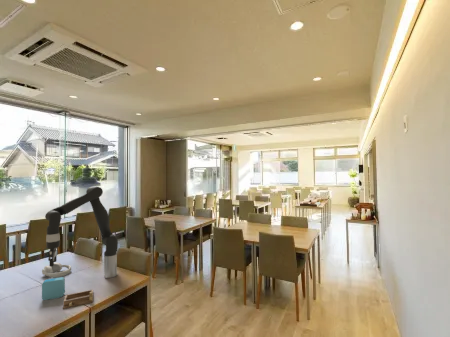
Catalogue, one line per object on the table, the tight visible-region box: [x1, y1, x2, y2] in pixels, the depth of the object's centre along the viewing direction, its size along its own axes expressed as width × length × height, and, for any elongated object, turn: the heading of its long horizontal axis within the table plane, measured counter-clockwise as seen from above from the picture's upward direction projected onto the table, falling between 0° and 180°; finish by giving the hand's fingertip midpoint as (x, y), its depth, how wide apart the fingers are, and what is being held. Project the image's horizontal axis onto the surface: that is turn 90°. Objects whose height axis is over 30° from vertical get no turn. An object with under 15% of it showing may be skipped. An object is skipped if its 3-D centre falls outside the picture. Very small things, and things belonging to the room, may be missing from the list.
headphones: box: [41, 261, 72, 279], centre depth 198 cm, size 18×8×20 cm
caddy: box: [62, 289, 94, 310], centre depth 156 cm, size 14×16×6 cm
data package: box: [41, 276, 66, 301], centre depth 161 cm, size 12×4×12 cm, turn 112°
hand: (53, 263), depth 162 cm, fingers open, 8 cm apart
